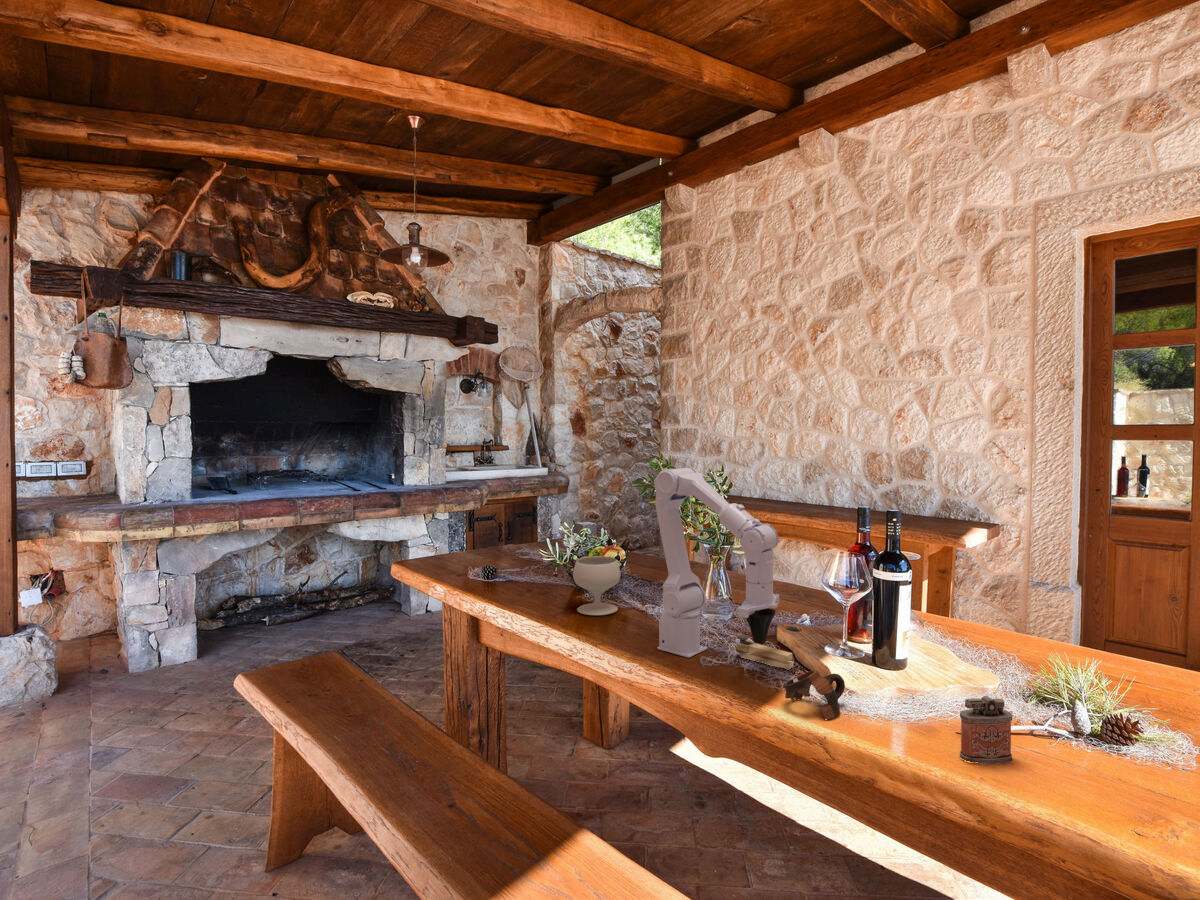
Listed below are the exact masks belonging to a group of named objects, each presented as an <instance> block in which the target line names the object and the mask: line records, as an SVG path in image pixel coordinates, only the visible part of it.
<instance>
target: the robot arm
mask: <svg viewBox="0 0 1200 900" xmlns="http://www.w3.org/2000/svg"><path fill="white" fill-rule="evenodd" d="M653 484H654V489H655V502H654V503H655V510H656V515H657V522H658V526H659V531H660V537H661V542H662V546H663V553H664V558H665V564H666V567H667V572H668V576H667V578H666V580H665V581H664V582H663V585H662V593H663V595H662V606H663V608H664V611H663V612H662V613H661V615H660V617H659V623H658V630H659V631H658V635H659V639H658V645H659V646H657V650H660V651H664V652H667V653H671V654H673V655H674V654H675V655H677V656H681V657H685V658H688V659H689V658H691V657H693V656H695V655H697V654H700V653H702V652H704V651H706V650H707V649H708V647H707V646H706V645H702V644H701V638H700V637H701V636H700V635H701V633H700V625H701V624H700V621H701V620H700V619H701V618H700V613H702V608H703V606H704V605H705V603H706V600H707V598H706V597H707V596H706V592H705V590H704V588H703V586H702V585H701V582H700V578H699V577H698V576H697V575H696V574H695V573H693V572H692V569H691V564H690V560H689V559H690V558H689V554H688V549H687V543H686V538H685V533H684V529H683V524H682V519H681V518H682V517H681V513H680V507H681V506H682V504H683V503H684V501H685V499H687V498H688V497H691V496H692V497H695V498H697V500H698V501H700V502H701V503H703V505H705V506H707V507H708V508H709V509H711V510H712V511H713V512H714V513H716V514H717V515H718V519H719V523H720V524H721V525H722V526H724V528H726V529H727V530H728V532H730V533H731V534H732V535H734V536H735V537H736V538H737V539H738V540H739V543H740V547H741V548H742V550H743V552H744V559H745V599H744V601H743V602H742V604H741V606H739V607H738V608H737V611H738V612H737V616H738V617H739V618H743V619H746V621H747V623H748V626H749V629H750V632H751V636H752V640H753V641H752V642H754V643H756V644H760V645H764V644H766V640H767V637H768V634H769V628H770V625H771V623H772V621H773V619H774V618H775V615H776V608H778V606H779V605H778V604H780V594H778V593H774V549H775V548H776V547H777V545H778V543H779V536H778V535H779V534H778V532H777V531H776V529H775V528H774V527H773V526H772V525H771V524H769V523H762V522H761V520H759V519H758V518H755V517H753V515H751V513H749V512H748V511H746V509H745V508H746V507H745V506H744V505H743V504H742V503H740V504H738V503H736V502H734V503H730V502H728V501H727V500H726V499H725V498H724V497H723V496H721V494H719V492H718V491H716V490H715V488H713V486H711V485H710V484H709V482H707V481H706V480H705V479H704V475H703V474H702V473H700V472H698V471H697V470H696V468H694V467H693V466H685V467H681V468H671V469H670V468H669V469H668V468H664V469H662V470H660V471H659V473H658V474H657V475H656V477H655V478H654V479H653Z"/></svg>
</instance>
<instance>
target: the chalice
mask: <svg viewBox="0 0 1200 900" xmlns="http://www.w3.org/2000/svg"><path fill="white" fill-rule="evenodd" d="M572 570H573V571H572V572H573V573H572V579H573V580H574V582H575V584H576V585H577V586H579V587H580V588H582V589H583V590H586V591H588V592H589V593H590V594H591V595H592V596H593V601H592V603H586V604H585V603H584V604H582V605H580V606H579V607H577V608H576V611H577V612H578V613H579V614H583V615H585V616H587V615H588V616H607V615H610V614H614V613H616V612H617V611H619V608H618V606H616V605H614V604H612V603H608V602H607V603H605V602H601V597H602V595H603V594H604V593H605V592H606V591H608V590H609V589H611V588H613V587H614V586H615V585H617V584H618V583H619V581H620V579H621V567H620V565H619V562H618V560H617V559H616V558H615V557H613V556H612V557H611V556H603V555H595V556H592V555H590V556H584V557H581V558H580V557H579V558H578V559H577V560H576V561H575V564H574V567H573V569H572Z"/></svg>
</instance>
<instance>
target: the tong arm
mask: <svg viewBox="0 0 1200 900" xmlns="http://www.w3.org/2000/svg"><path fill="white" fill-rule="evenodd" d="M736 648H737V650H740V651H744V652H751V653H755V654H759V655H762V656H766V657H769V658H773V659H777V660H780V661H784V662H788V661H793V653H792V652H789V651H786V650H782V649H777V648H774V647H770V646H766V645H764V644H758V643H754V641H752V640H749V639H747V640H746V645H745V644H741V643H740V642H737V643H736Z"/></svg>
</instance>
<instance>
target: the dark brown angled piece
mask: <svg viewBox="0 0 1200 900" xmlns="http://www.w3.org/2000/svg"><path fill="white" fill-rule="evenodd" d="M796 679H797V681H794V679H790V680H789V681H787V682H786V683H785V684H784V685H783V688H784V689H785V696H784V697H785V699H790V700H791V701H792V702H795V700H796V699H800V700H801V699H802V698H803V697H805V698H810V697H811V693H810V690H811V686H813V688H814V690H815V691H816V692H817V693H818V694H819V695H820V696H824V699H825V700H826V701H827V705H825V706H824V707H823V708H821V709H820V712H821V714H822V716H823V719H824V718H825V719H830V720H832V719H834V718H835V717H836V716H839V715H840V713H841V709H840V706H839V699H840V698H841V697H842V695H843V693H844V692H845V687H846V685H845V681H844V679H843V677H842V676H841V675H840V674H838V673H831V674H828V675H826V676H822V675H820V672H819V671H818V670H816V669H814V670H810V671H807V672H805V673H802V674H800V675H798V676H797V677H796ZM834 682H835V688H834V686H833V683H834ZM831 718H832V719H831ZM825 719H824V720H825Z"/></svg>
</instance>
